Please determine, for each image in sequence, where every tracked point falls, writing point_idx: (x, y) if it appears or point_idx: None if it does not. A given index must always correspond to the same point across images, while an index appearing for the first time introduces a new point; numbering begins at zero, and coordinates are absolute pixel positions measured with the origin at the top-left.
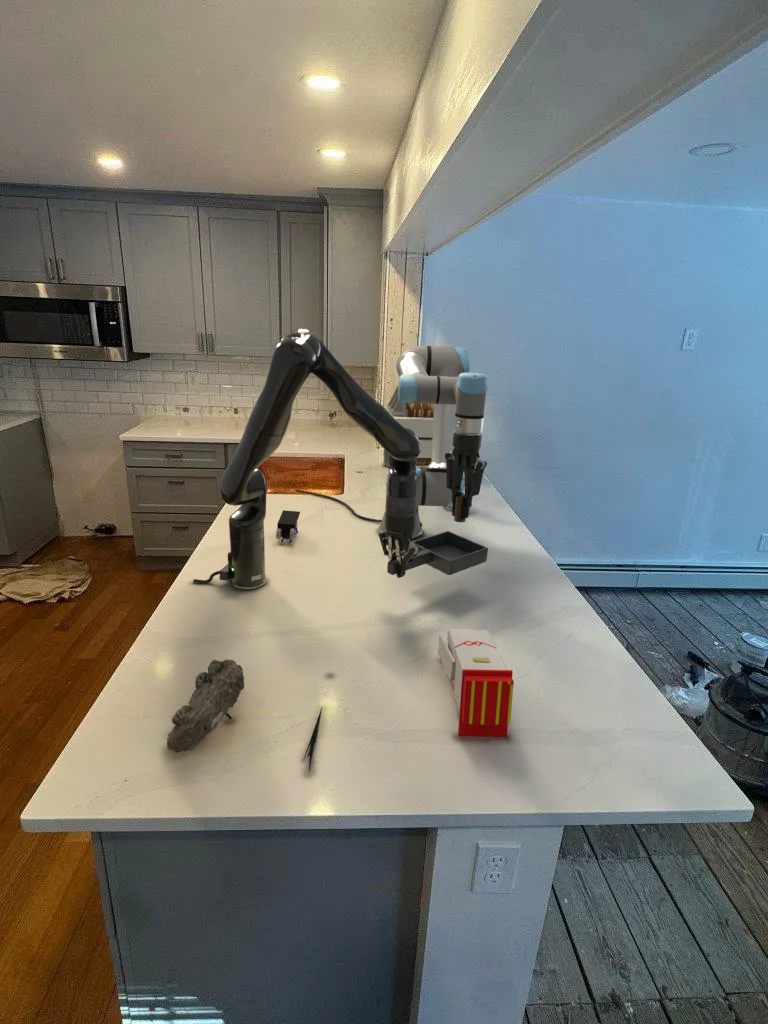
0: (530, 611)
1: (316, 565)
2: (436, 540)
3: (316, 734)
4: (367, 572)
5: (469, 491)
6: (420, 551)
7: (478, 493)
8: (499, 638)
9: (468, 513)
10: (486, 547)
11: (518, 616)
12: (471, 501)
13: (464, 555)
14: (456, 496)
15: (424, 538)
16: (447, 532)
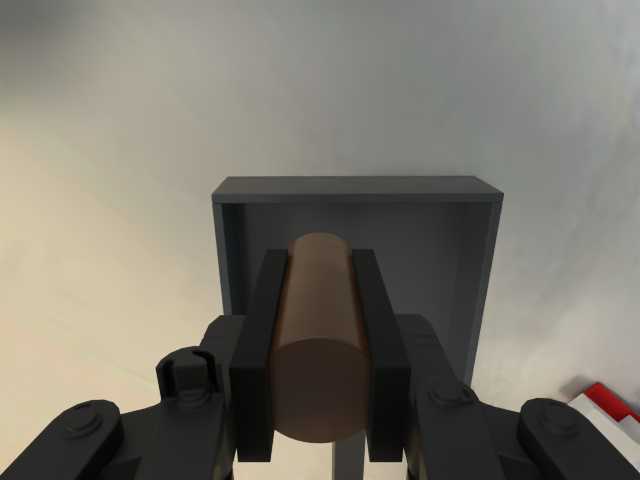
0: (599, 106)
1: (9, 400)
2: (234, 270)
3: None
4: (111, 324)
5: (417, 431)
6: (337, 454)
7: (587, 433)
8: (587, 292)
9: (376, 267)
10: (495, 196)
11: (581, 165)
12: (443, 357)
13: (472, 343)
14: (280, 430)
15: None
16: (222, 207)
